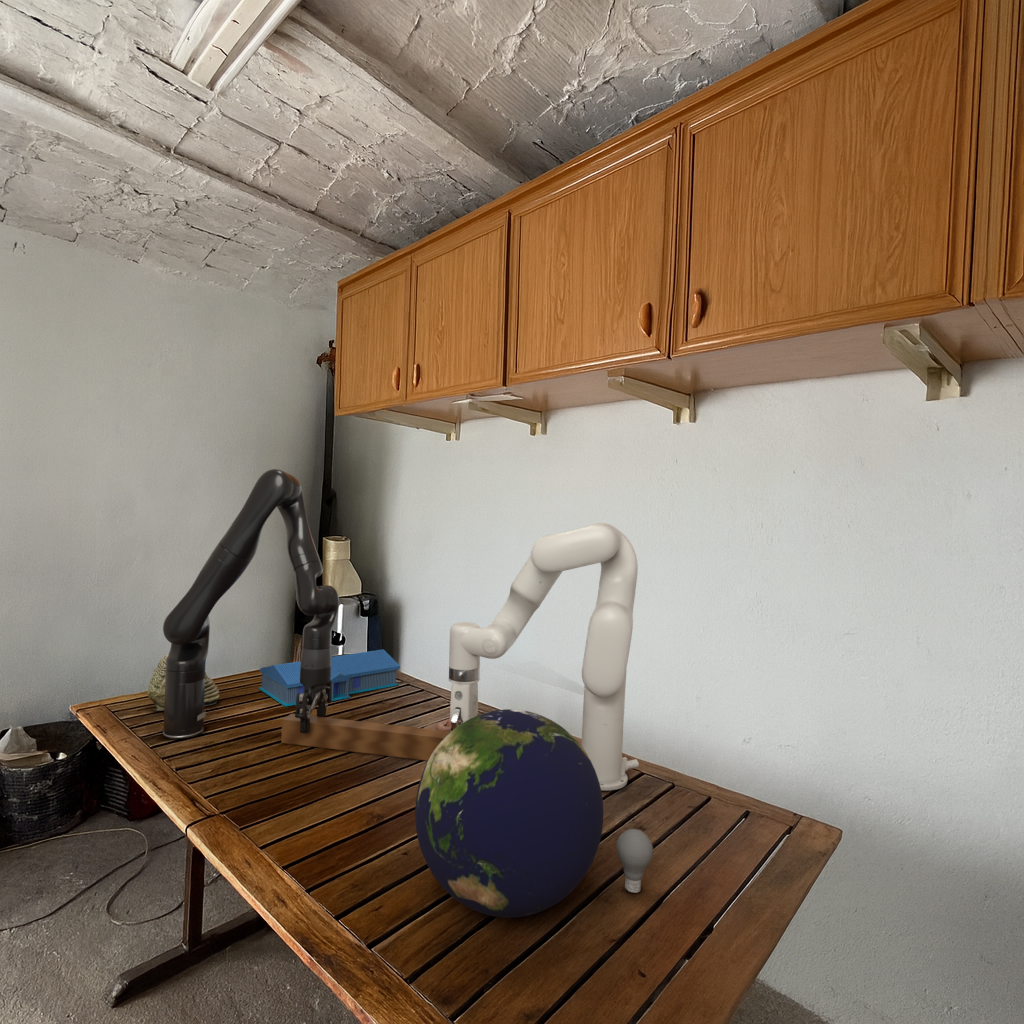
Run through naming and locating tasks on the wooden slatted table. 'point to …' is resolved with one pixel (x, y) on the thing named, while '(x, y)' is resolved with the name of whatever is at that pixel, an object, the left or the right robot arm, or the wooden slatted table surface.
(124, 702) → the wooden slatted table surface
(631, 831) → the light bulb
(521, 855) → the globe
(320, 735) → the post
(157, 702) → the fossil
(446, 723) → the anatomical model
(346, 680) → the model building
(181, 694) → the left robot arm
